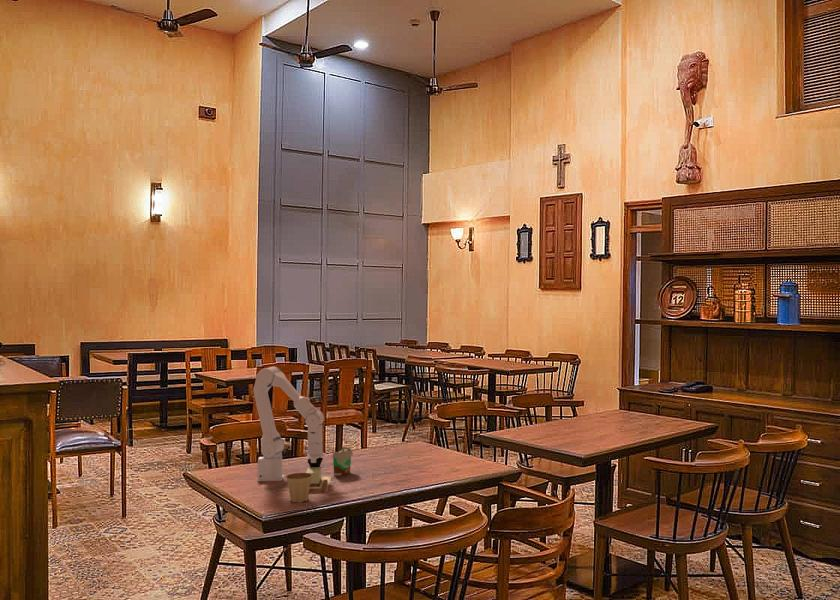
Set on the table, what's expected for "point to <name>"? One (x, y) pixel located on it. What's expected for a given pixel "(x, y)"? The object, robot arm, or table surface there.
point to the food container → (342, 461)
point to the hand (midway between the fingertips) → (315, 477)
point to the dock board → (323, 485)
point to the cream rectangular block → (315, 475)
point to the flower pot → (299, 486)
